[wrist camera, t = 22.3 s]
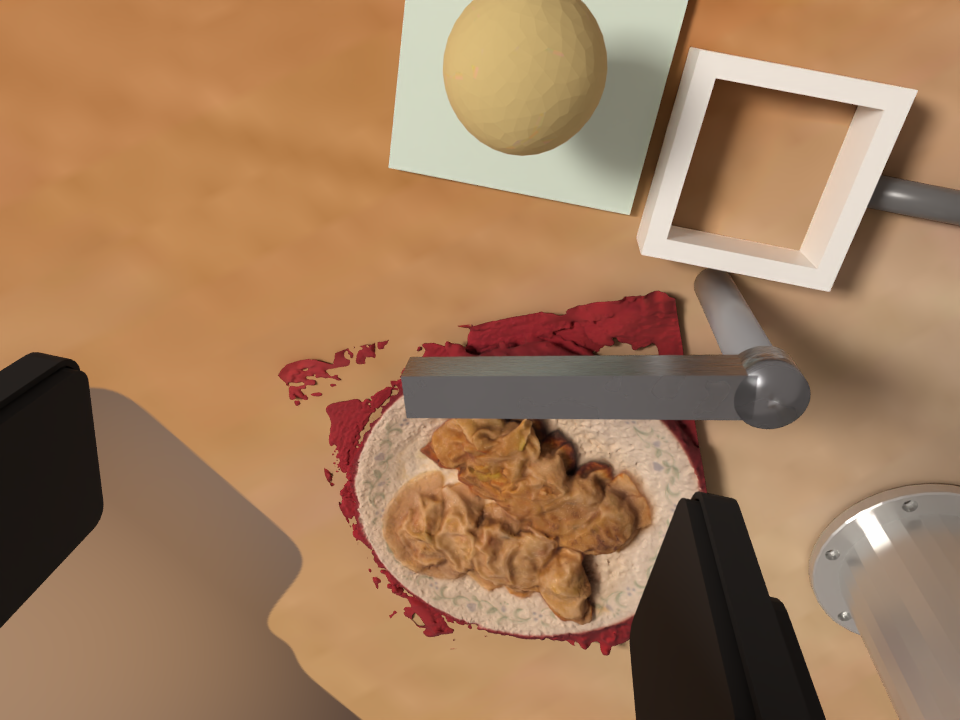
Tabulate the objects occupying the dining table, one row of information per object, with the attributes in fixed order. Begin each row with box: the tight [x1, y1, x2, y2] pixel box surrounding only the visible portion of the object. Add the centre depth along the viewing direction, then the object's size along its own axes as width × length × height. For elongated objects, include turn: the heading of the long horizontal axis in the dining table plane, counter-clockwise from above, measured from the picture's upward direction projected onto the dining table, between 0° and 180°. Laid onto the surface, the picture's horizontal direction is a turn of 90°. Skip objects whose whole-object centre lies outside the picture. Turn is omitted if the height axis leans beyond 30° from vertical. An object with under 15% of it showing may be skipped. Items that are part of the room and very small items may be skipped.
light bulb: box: [443, 0, 607, 156], centre depth 28 cm, size 6×6×10 cm
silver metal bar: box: [401, 346, 810, 429], centre depth 28 cm, size 3×16×2 cm, turn 94°
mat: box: [389, 0, 688, 215], centre depth 33 cm, size 13×13×1 cm
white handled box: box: [636, 47, 960, 355], centre depth 30 cm, size 20×12×10 cm, turn 81°
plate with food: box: [278, 291, 707, 655], centre depth 45 cm, size 25×26×4 cm
